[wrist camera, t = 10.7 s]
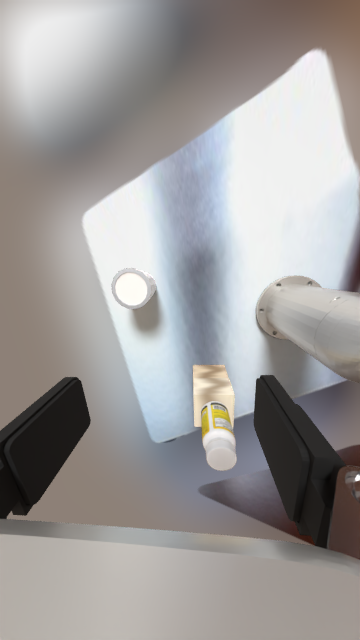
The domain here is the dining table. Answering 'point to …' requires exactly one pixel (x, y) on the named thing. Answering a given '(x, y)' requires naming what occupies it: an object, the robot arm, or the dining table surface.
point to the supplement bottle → (218, 436)
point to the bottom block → (209, 372)
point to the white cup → (133, 288)
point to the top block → (212, 396)
